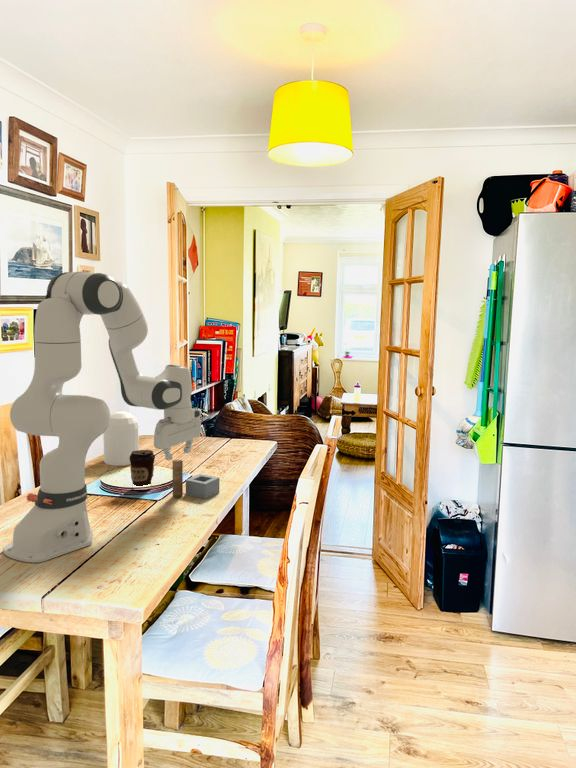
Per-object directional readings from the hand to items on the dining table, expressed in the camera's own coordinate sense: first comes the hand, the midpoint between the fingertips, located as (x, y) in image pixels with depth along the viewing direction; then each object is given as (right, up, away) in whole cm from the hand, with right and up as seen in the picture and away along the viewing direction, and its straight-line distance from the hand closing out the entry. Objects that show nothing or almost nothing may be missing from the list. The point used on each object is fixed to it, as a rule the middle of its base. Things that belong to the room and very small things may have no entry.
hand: (178, 456), depth 190 cm
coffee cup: (-14, -12, +8) cm, 20 cm away
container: (-30, -7, +41) cm, 52 cm away
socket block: (+7, -13, +5) cm, 16 cm away
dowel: (0, -14, +2) cm, 14 cm away
